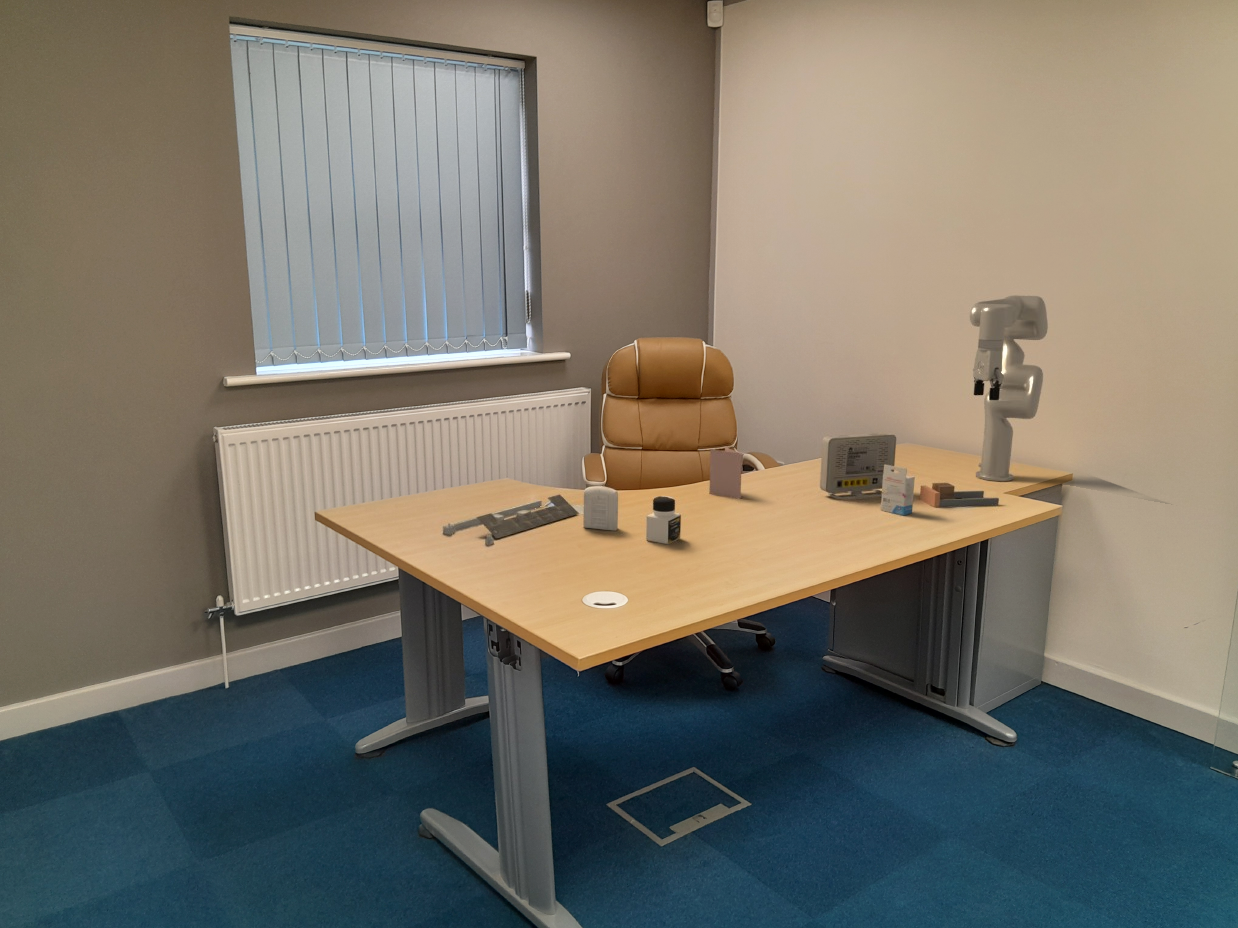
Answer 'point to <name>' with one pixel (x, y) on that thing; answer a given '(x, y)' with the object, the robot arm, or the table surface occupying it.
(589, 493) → the gravestone
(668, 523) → the medicine bottle
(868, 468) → the network device
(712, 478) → the greeting card
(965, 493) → the guide channel
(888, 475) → the ink box
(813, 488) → the table surface
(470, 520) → the paper cutter
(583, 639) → the table surface
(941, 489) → the block
